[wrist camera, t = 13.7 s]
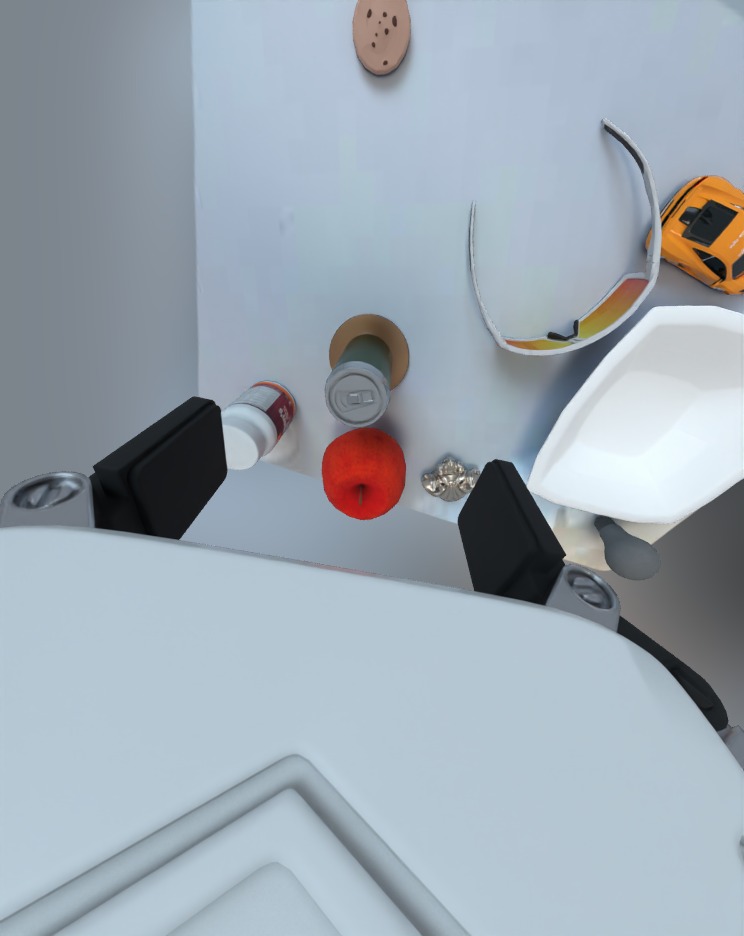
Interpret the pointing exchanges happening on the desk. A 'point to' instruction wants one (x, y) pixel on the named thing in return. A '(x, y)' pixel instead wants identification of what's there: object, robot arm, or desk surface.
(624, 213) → the desk surface
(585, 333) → the sunglasses
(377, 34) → the cookie
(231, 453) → the pill bottle
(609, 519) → the light bulb
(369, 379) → the beer can
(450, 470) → the ornament
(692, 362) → the bowl
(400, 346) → the coaster
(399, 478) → the apple
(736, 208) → the toy car
